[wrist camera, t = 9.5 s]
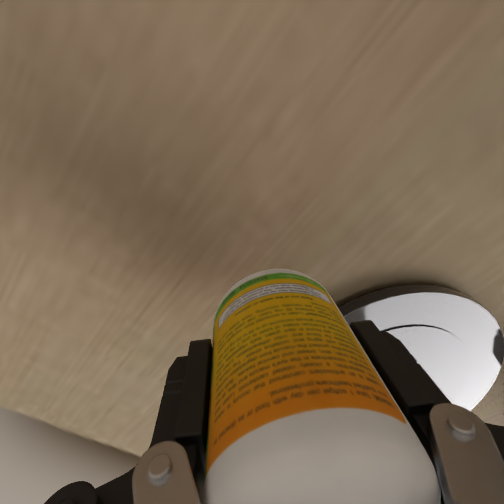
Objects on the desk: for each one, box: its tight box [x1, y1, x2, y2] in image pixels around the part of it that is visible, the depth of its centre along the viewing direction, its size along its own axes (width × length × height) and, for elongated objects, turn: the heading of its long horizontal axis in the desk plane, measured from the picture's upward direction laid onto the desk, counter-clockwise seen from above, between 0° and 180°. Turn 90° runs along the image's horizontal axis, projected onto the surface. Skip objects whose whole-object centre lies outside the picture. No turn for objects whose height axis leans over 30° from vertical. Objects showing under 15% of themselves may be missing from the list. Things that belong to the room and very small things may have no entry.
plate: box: [338, 284, 504, 411], centre depth 20 cm, size 16×16×1 cm
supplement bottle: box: [203, 269, 441, 504], centre depth 8 cm, size 5×5×10 cm
